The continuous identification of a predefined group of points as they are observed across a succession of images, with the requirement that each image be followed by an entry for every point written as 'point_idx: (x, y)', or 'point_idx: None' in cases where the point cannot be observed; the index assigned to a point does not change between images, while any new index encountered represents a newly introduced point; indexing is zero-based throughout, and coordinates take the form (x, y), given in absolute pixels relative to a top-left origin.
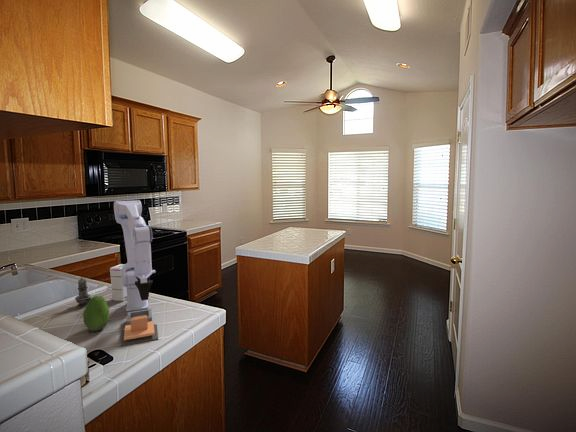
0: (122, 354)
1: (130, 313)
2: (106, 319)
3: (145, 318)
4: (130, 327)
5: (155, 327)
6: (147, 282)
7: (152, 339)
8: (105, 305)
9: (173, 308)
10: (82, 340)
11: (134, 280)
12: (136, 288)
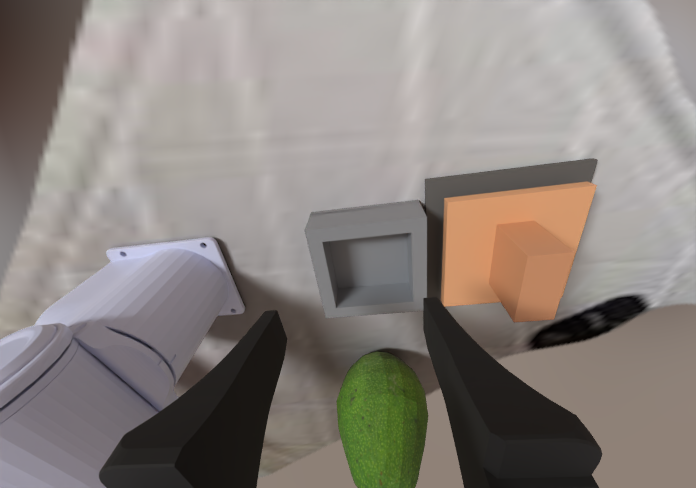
0: (622, 275)
1: (342, 307)
2: (404, 374)
3: (569, 258)
4: (473, 287)
5: (465, 183)
6: (576, 475)
7: None
8: (392, 432)
9: (218, 99)
10: None
11: (128, 424)
12: (168, 362)
